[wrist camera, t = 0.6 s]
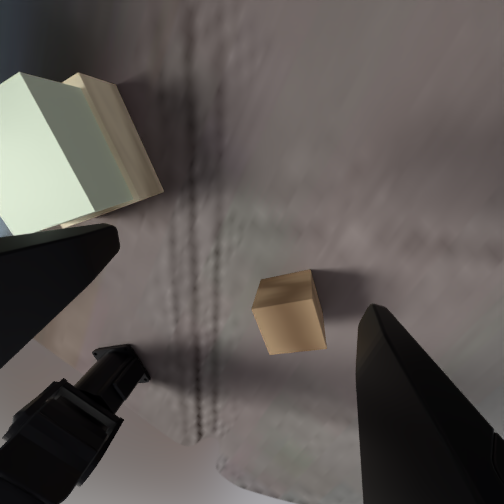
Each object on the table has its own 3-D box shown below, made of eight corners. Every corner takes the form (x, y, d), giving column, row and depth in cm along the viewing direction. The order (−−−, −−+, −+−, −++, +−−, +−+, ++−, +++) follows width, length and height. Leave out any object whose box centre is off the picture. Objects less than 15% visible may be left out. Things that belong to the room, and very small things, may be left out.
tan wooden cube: (275, 318, 26) (269, 354, 21) (260, 279, 24) (251, 309, 20) (322, 311, 24) (326, 348, 20) (310, 268, 23) (312, 298, 18)
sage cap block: (63, 223, 22) (15, 238, 18) (6, 128, 19) (-63, 124, 15) (133, 199, 19) (95, 211, 16) (80, 87, 17) (19, 71, 13)
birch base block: (96, 216, 25) (62, 228, 22) (45, 127, 23) (-3, 123, 19) (166, 191, 23) (140, 199, 19) (118, 85, 20) (78, 72, 16)
